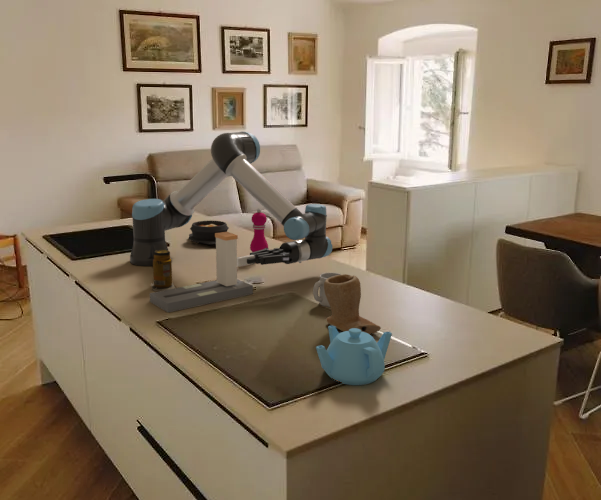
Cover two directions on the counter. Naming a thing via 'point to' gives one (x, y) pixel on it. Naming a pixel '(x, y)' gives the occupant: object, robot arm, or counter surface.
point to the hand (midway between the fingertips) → (237, 262)
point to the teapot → (354, 356)
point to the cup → (322, 289)
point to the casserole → (206, 231)
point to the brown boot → (346, 304)
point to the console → (198, 295)
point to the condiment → (162, 271)
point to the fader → (226, 258)
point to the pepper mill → (258, 231)
